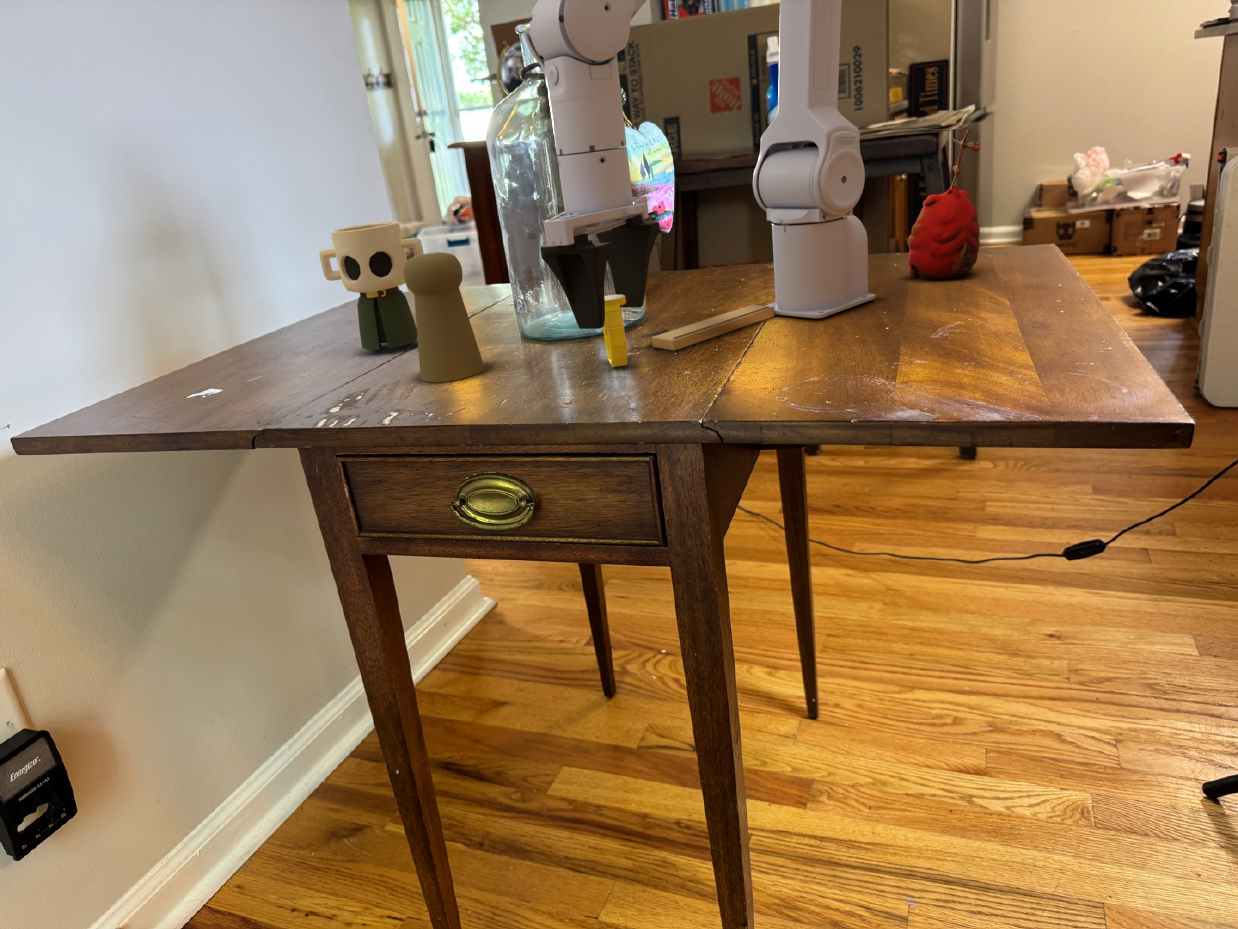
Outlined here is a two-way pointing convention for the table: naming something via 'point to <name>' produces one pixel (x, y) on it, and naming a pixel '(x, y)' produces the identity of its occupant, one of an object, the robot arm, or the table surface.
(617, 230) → the robot arm
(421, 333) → the cork
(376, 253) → the character mug
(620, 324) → the watch
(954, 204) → the red bumpy oval piece
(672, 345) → the ruler
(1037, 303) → the table surface
